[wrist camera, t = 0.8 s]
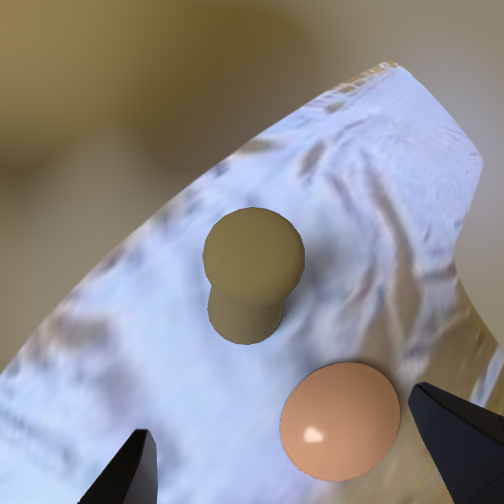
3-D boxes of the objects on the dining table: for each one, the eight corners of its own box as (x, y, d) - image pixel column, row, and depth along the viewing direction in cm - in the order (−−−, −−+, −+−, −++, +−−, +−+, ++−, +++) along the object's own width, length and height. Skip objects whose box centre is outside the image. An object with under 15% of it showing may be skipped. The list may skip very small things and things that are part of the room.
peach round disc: (413, 399, 20) (418, 399, 19) (350, 495, 16) (353, 498, 15) (328, 339, 22) (332, 338, 22) (252, 439, 18) (253, 441, 18)
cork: (278, 271, 25) (309, 189, 15) (286, 342, 22) (330, 299, 12) (206, 274, 24) (193, 190, 15) (208, 346, 22) (189, 305, 12)
